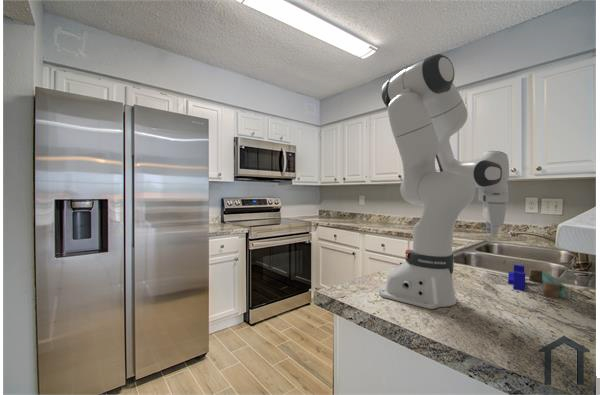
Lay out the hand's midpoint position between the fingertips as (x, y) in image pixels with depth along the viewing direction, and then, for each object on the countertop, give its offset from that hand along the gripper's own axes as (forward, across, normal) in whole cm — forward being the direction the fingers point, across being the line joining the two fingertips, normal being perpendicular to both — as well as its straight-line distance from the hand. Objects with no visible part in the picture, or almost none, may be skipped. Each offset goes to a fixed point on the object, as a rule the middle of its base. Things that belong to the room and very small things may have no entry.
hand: (491, 234), depth 104 cm
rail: (+17, 0, +16) cm, 23 cm away
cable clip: (+18, 0, +8) cm, 19 cm away
